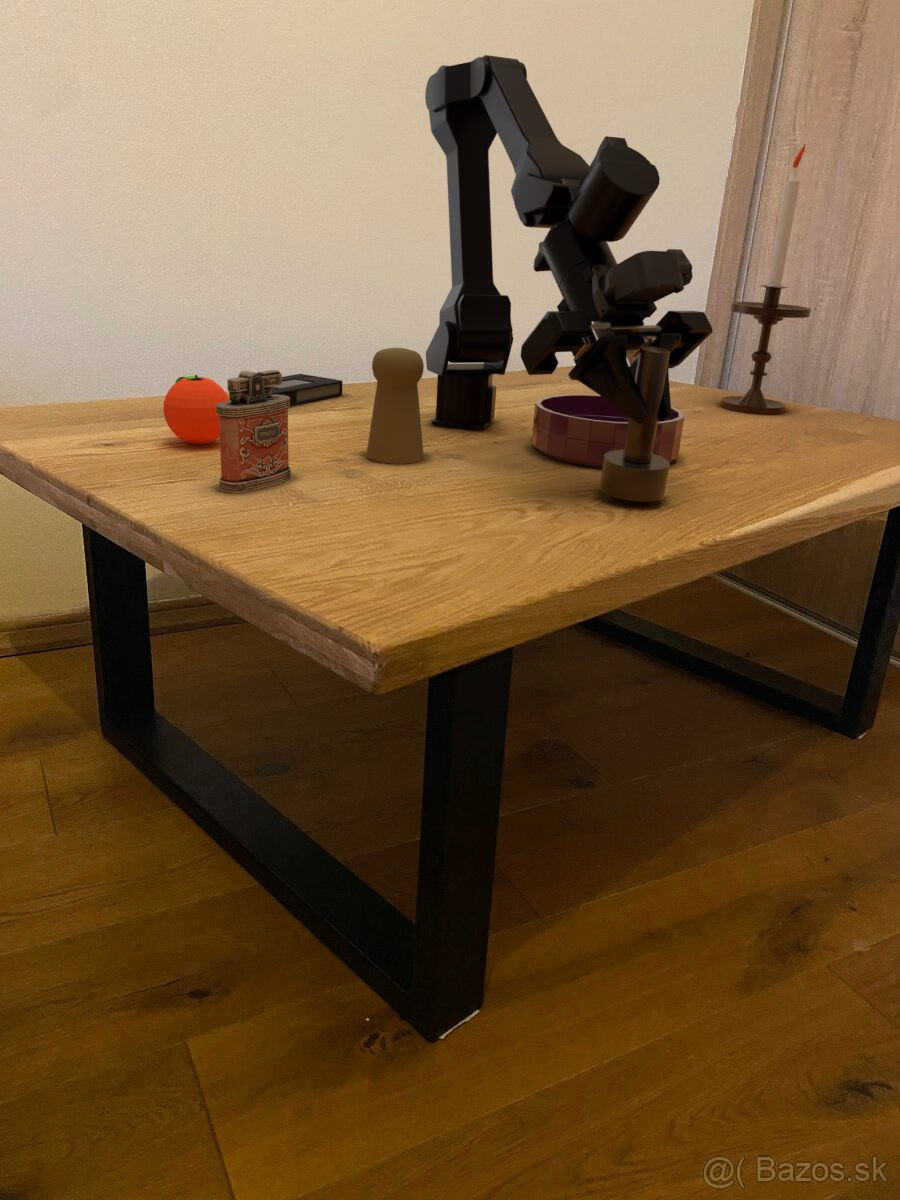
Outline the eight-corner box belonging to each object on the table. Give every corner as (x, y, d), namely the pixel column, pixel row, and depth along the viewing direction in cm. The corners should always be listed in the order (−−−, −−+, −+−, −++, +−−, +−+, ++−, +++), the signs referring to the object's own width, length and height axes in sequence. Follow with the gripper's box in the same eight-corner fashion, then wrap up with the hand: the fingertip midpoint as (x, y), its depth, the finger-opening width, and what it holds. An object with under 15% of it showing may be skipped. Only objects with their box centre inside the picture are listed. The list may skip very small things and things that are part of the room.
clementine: (147, 439, 98) (142, 371, 96) (203, 431, 103) (200, 366, 100) (189, 454, 93) (185, 382, 91) (246, 445, 98) (244, 377, 95)
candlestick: (798, 408, 138) (850, 147, 124) (780, 419, 129) (833, 139, 116) (726, 398, 143) (768, 146, 129) (704, 407, 134) (747, 139, 121)
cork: (431, 454, 99) (436, 348, 95) (411, 466, 94) (415, 355, 89) (379, 447, 101) (382, 343, 96) (356, 458, 95) (358, 349, 91)
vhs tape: (343, 395, 128) (343, 380, 127) (274, 409, 116) (273, 393, 115) (300, 388, 131) (300, 373, 130) (229, 401, 120) (228, 385, 119)
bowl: (522, 461, 98) (526, 414, 96) (541, 431, 113) (545, 389, 111) (677, 477, 95) (684, 429, 93) (677, 444, 110) (683, 402, 108)
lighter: (238, 495, 81) (234, 379, 77) (210, 487, 83) (205, 374, 79) (299, 477, 88) (298, 369, 84) (272, 470, 89) (270, 365, 85)
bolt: (596, 496, 84) (618, 351, 78) (602, 476, 89) (622, 339, 84) (663, 505, 83) (690, 359, 77) (664, 485, 88) (690, 347, 83)
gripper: (553, 208, 75) (628, 368, 71) (714, 219, 85) (789, 361, 80) (491, 299, 84) (554, 446, 80) (643, 300, 94) (706, 431, 89)
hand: (654, 419), depth 82 cm, fingers closed on bolt, 2 cm apart
